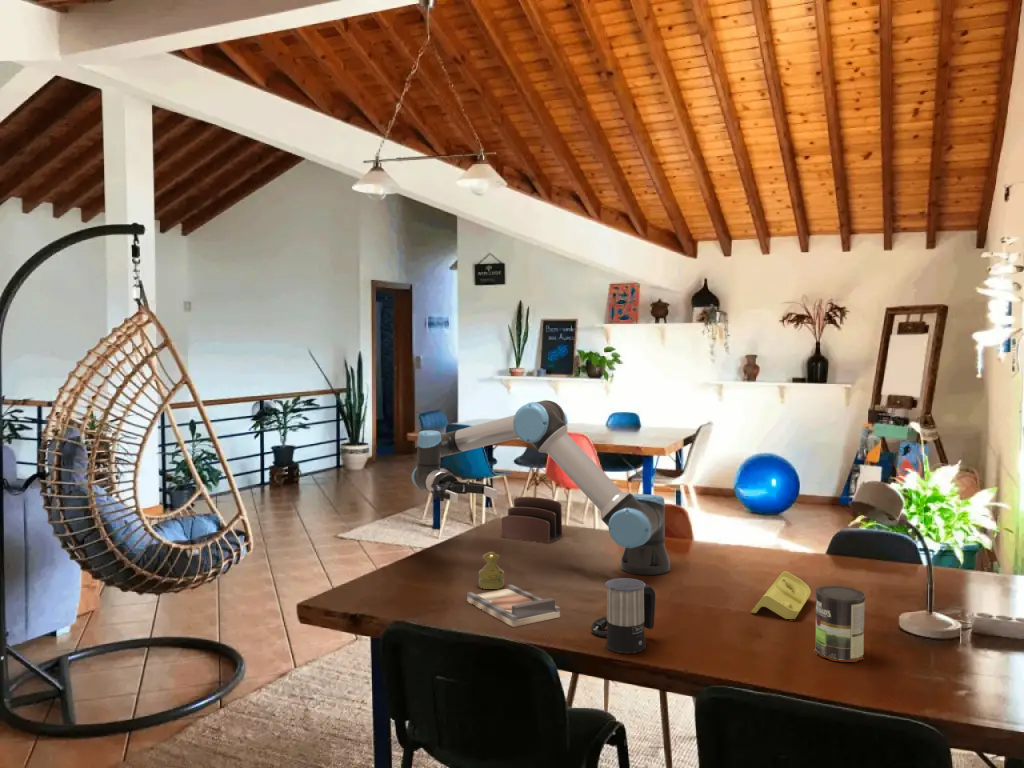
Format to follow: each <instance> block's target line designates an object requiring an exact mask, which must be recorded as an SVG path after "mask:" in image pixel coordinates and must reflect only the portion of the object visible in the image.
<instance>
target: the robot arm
mask: <svg viewBox="0 0 1024 768" xmlns="http://www.w3.org/2000/svg"><path fill="white" fill-rule="evenodd" d="M565 422H566V415H565V412H564V410H563V408H562V407H561V405H560V404H558V403H557V402H555V401H553V400H547V399H544V400H540V401H531V402H528V403H526V404H523V405H521V406H520V407H519V408H518V409H517V410H516V412H515V414H514V415H510V416H506V417H502V418H499V419H495V420H492V421H487V422H483V423H480V424H477V425H472V426H468V427H464V428H460V429H457V430H453V431H449V432H445V433H441V432H440V431H438V430H428V429H427V430H422V431H419V432H418V434H417V442H416V446H417V447H416V449H417V451H416V452H417V454H416V456H417V457H416V460H417V461H416V467H415V468H414V469H413V471H412V473H411V481H412V483H413V485H414V486H415V487H417V488H418V489H420V490H422V491H426V492H429V493H431V494H432V495H433V496H432V498H433V499H434V500H437V499H438V498H439V501H440V502H444V501H445V500H446V501H449V502H451V503H454V504H458V502H459V501H458V500H459V494H461V495H466V494H476V495H477V494H478V495H483V496H485V497H488V498H491V499H494V500H498V489H496V488H493V484H489V483H479V482H473V481H466V482H465V481H464V482H463V481H461V480H460V481H459V480H458V479H457V478H456V476H454V475H453V474H451V473H448V472H445V471H443V470H441V458H444V457H447V456H452V455H455V454H459V453H463V452H466V451H472V450H475V449H479V448H484V447H487V446H491V445H495V444H500V443H504V442H507V441H511V440H515V439H519V440H520V441H523V442H525V443H529V444H531V445H532V446H533V447H534V448H535V449H536V450H537V452H538V453H544V454H547V455H548V456H549V457H550V458H551V459H552V460H553V461H554V462H555V463H556V465H557V466H558V467H559V468H560V469H561V470H562V471H563V472H564V473H565V475H566V476H568V478H569V479H570V480H571V481H572V482H573V483H574V484H575V485H576V486H577V488H579V489H580V491H581V492H582V493H583V494H584V495H585V496H586V497H587V498H588V499H589V500H590V501H591V503H593V505H594V506H595V507H596V508H597V509H599V511H600V512H601V513H600V516H601V517H600V519H601V521H602V522H603V523H604V524H605V525H606V526H607V528H608V534H609V536H610V538H611V539H612V540H613V542H615V543H616V544H617V546H618V545H619V546H621V547H623V548H624V549H623V551H622V552H623V553H622V556H621V560H620V569H621V570H622V571H623V572H626V573H628V574H629V573H630V574H635V575H641V576H642V575H643V576H644V575H645V576H654V575H662V574H666V573H668V572H670V571H671V560H670V557H669V554H668V551H667V549H666V544H665V537H666V536H665V532H666V531H665V526H666V525H665V523H666V522H665V520H666V518H665V517H666V516H665V510H666V509H665V508H666V505H665V498H664V497H663V496H662V495H656V494H645V493H644V494H642V493H641V494H639V493H632V492H629V491H622V490H621V489H620V487H618V486H617V484H615V482H614V481H613V480H612V479H611V478H610V477H609V476H608V475H607V474H606V473H605V472H604V471H603V470H602V469H601V468H600V467H599V466H598V465H597V464H596V463H595V462H594V460H593V459H592V458H591V457H590V456H589V455H588V454H587V453H586V452H585V451H584V450H583V448H582V447H580V445H579V444H578V443H576V441H575V440H574V439H573V438H572V437H571V436H570V435H569V434H568V425H567V424H566V423H565Z"/></svg>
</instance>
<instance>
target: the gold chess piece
mask: <svg viewBox="0 0 1024 768" xmlns="http://www.w3.org/2000/svg"><path fill="white" fill-rule="evenodd" d="M500 558H501V555H500V554H498V553H496V552H494V551H488V552H486V553H485V554H482V559H483V560H484V561H485V562H486V564H485V565H484V566H483V568H481V569H480V570H479V571H478V587H479V588H480V589H482V588H483V590H485V589H497V590H501V589H503V587H505V578H504V576H505V571H504V569H502V568H500V566H499V565H497V561H498V560H499V559H500ZM500 588H501V589H500Z"/></svg>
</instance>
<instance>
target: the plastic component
mask: <svg viewBox="0 0 1024 768" xmlns="http://www.w3.org/2000/svg"><path fill="white" fill-rule="evenodd" d="M811 594H812V592H811V587H809V585H808V584H807V583H806V582H805V581H803V580H802V579H801V578H800V577H797V576H795V575H794V574H792V573H791V572H788V571H786V570H785V571H783V572H781V573H780V575H779V576H778V577H777V579H776V580H775V581H774V582H773V583H772V584H771V586H770V587H769V588H768V590H767V591H766V592H765V593H764V595H763V596H762V597H761V598H760V600H759V601H758V602H757V603H756V604H755V606H754V607H753V608H752V609H751V611H750V612H751V613H752V614H753V613H756V614H757V613H758V612H759V610H760V609H761V608H767V609H768V610H770V611H771V612H773V613H775V614H777V615H778V616H780V618H781V617H782V618H783V619H785V620H787V619H794V620H795V619H796V618H797V617H798V615H799V614H800V613H801V611H802V610H803V607H804V605H805V604H806V602H807V601H808V599H809V598H810V596H811Z"/></svg>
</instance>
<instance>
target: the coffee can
mask: <svg viewBox="0 0 1024 768" xmlns="http://www.w3.org/2000/svg"><path fill="white" fill-rule="evenodd" d="M865 600H866V594H865V593H864V592H863V591H860V590H859V589H856V588H853V587H848V586H842V585H824V586H820V587H817V588H816V589H815V639H814V640H815V642H814V643H815V646H814V651H815V650H816V651H817V652H818V653H820V654H822V655H824V656H827V657H830V658H834V659H839V660H854V659H858V658H861V657H863V655H864V653H865V651H864V646H865V643H864V642H865V640H864V638H865V637H864V636H865V606H866V605H865V603H866V602H865ZM864 656H865V655H864Z"/></svg>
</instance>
